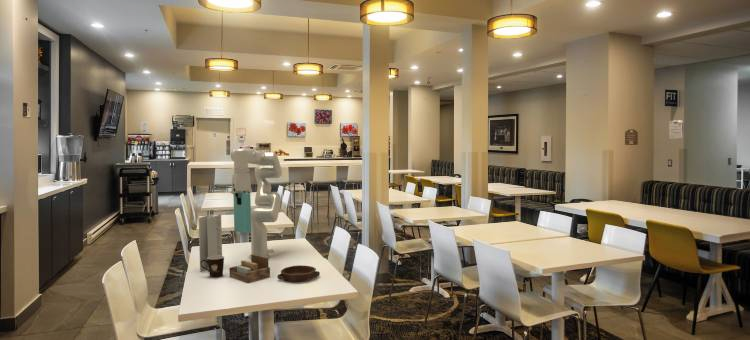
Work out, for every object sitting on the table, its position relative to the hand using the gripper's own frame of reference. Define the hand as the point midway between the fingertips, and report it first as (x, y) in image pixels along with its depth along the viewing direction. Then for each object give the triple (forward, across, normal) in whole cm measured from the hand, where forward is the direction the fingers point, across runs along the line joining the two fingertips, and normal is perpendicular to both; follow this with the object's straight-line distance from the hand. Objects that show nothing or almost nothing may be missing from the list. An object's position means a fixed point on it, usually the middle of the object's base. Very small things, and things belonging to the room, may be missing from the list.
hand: (242, 203), depth 260 cm
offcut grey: (+37, +10, +15) cm, 41 cm away
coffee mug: (+37, +17, -2) cm, 41 cm away
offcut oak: (+37, +6, +15) cm, 41 cm away
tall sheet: (+16, 0, 0) cm, 16 cm away
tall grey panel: (+37, +10, -16) cm, 42 cm away
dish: (+38, -9, +37) cm, 53 cm away
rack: (+37, +6, +15) cm, 41 cm away
